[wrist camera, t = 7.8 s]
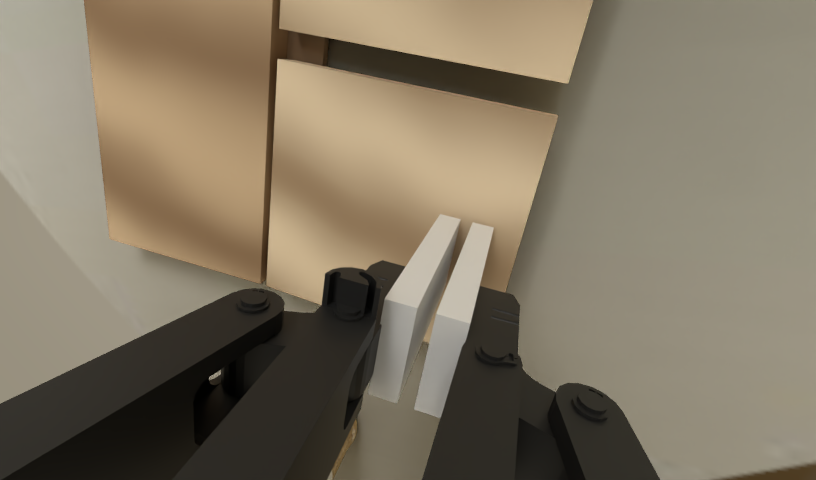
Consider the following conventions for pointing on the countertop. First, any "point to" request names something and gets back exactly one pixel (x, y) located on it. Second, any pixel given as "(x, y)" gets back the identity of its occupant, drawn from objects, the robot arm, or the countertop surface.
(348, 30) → the plank
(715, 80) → the countertop surface
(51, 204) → the countertop surface
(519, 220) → the plank
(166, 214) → the laid board
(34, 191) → the countertop surface
